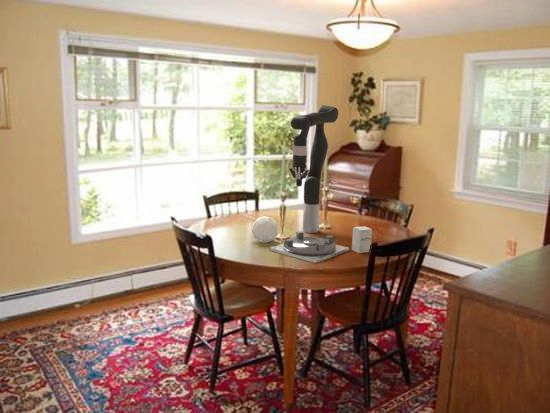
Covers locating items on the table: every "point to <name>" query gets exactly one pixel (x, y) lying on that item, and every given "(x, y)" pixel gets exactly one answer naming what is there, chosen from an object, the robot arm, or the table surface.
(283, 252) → the base plate
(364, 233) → the supplement box
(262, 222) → the white ball
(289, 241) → the grey flat round piece
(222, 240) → the table surface
